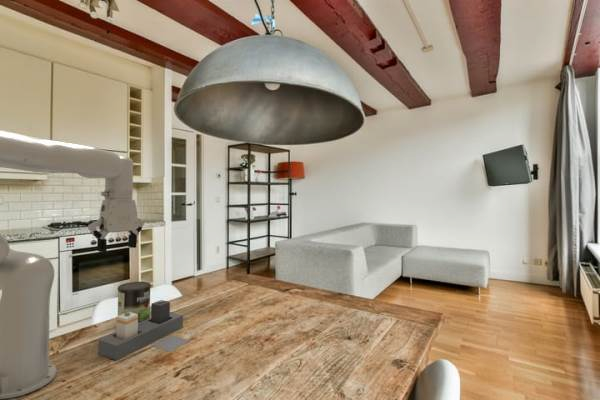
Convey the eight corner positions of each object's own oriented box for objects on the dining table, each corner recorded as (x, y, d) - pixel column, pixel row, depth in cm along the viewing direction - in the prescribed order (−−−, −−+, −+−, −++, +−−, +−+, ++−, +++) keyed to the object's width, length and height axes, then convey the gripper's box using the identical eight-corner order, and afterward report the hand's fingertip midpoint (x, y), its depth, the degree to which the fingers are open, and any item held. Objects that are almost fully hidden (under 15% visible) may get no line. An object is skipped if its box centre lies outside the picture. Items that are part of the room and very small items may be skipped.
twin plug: (159, 329, 99) (160, 303, 99) (151, 327, 101) (151, 301, 101) (169, 325, 103) (169, 300, 103) (160, 322, 104) (161, 298, 104)
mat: (170, 353, 89) (170, 351, 89) (151, 346, 92) (151, 345, 92) (190, 341, 96) (190, 340, 96) (172, 336, 100) (172, 334, 99)
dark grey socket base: (116, 361, 84) (116, 345, 84) (98, 354, 87) (98, 339, 87) (182, 327, 106) (182, 315, 106) (166, 323, 109) (166, 311, 109)
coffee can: (156, 320, 111) (157, 282, 111) (135, 332, 101) (136, 291, 101) (132, 317, 113) (132, 280, 113) (109, 329, 103) (110, 288, 103)
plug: (125, 346, 88) (125, 317, 88) (115, 343, 90) (116, 314, 90) (137, 340, 92) (138, 312, 92) (128, 337, 93) (129, 309, 93)
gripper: (97, 195, 86) (96, 255, 86) (151, 196, 102) (150, 246, 102) (82, 194, 89) (81, 252, 90) (136, 195, 105) (135, 244, 105)
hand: (117, 249), depth 96 cm, fingers open, 9 cm apart
